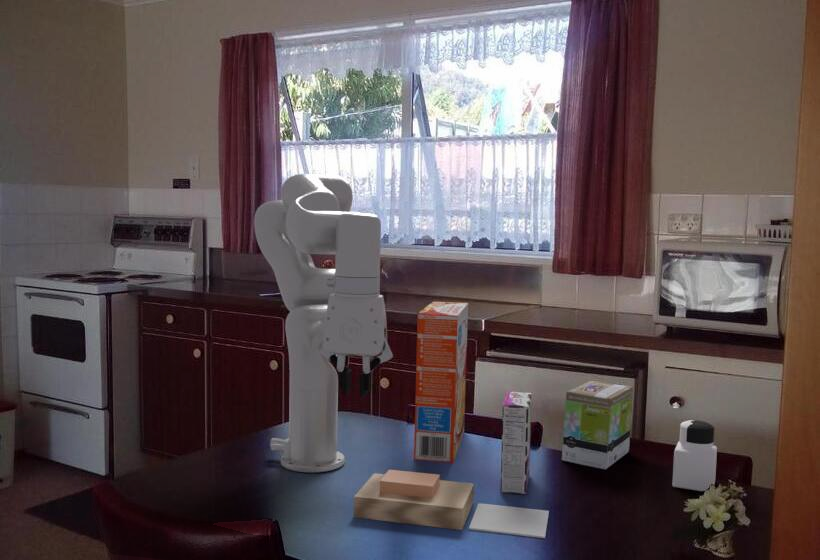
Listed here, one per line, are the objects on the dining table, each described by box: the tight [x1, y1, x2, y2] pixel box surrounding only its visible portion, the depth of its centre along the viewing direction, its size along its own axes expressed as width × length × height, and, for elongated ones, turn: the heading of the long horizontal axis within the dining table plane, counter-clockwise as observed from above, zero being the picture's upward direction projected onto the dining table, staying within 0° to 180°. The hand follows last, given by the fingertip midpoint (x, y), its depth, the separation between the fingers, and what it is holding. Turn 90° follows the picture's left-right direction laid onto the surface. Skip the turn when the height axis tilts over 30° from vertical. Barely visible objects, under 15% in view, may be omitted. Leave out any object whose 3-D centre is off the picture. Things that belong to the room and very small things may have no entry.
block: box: [380, 469, 441, 498], centre depth 131 cm, size 9×6×2 cm, turn 77°
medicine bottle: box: [671, 419, 718, 492], centre depth 147 cm, size 7×7×12 cm
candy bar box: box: [500, 390, 532, 495], centre depth 145 cm, size 11×5×16 cm, turn 168°
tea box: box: [561, 380, 634, 470], centre depth 163 cm, size 15×10×15 cm
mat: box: [468, 502, 550, 539], centre depth 128 cm, size 12×11×1 cm
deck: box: [353, 472, 475, 531], centre depth 131 cm, size 18×12×4 cm, turn 77°
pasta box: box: [413, 301, 469, 464], centre depth 168 cm, size 23×8×30 cm, turn 171°
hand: (355, 393), depth 132 cm, fingers open, 2 cm apart
